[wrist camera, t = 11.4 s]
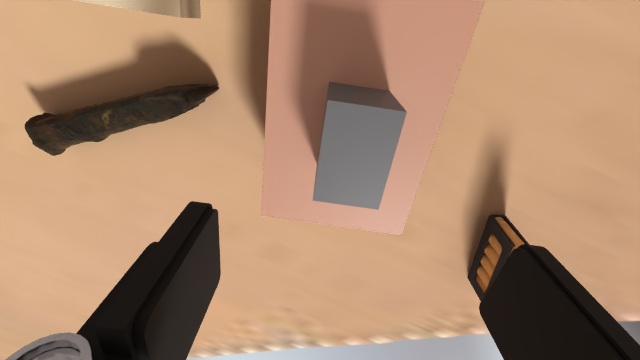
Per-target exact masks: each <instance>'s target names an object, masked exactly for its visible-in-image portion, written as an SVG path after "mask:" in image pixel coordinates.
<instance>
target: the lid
mask: <svg viewBox="0 0 640 360" xmlns="http://www.w3.org/2000/svg"><path fill="white" fill-rule="evenodd" d="M483 5H484V2H480V1H474V0H271V11H270V33H269V54H268V76H267V98H266V120H265V141H264V163H263V185H262V207H261V216H266V217H273V218H281V219H288V220H295V221H302V222H310V223H317V224H324V225H332V226H339V227H346V228H353V229H361V230H368V231H375V232H383V233H390V234H397V235H402V232H403V229H404V226H405V223H406V221H407V218H408V215H409V212H410V209H411V207H412V204H413V201H414V198H415V195H416V193H417V190H418V187H419V184H420V181H421V179H422V176H423V173H424V170H425V167H426V165H427V162H428V159H429V156H430V153H431V151H432V148H433V145H434V142H435V139H436V137H437V134H438V131H439V128H440V126H441V123H442V120H443V117H444V114H445V112H446V109H447V106H448V103H449V100H450V98H451V95H452V92H453V89H454V86H455V84H456V81H457V78H458V75H459V72H460V70H461V67H462V64H463V61H464V58H465V56H466V53H467V50H468V47H469V44H470V42H471V39H472V36H473V33H474V30H475V28H476V25H477V22H478V19H479V16H480V14H481V11H482V8H483Z"/></svg>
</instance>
